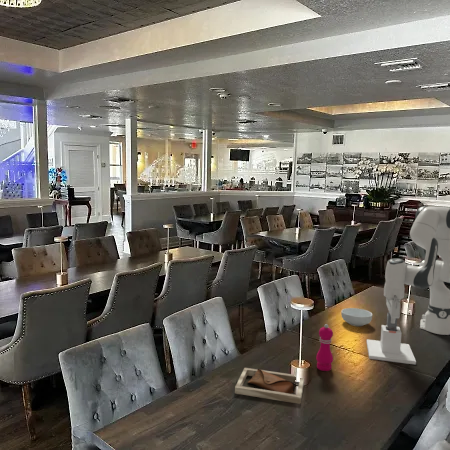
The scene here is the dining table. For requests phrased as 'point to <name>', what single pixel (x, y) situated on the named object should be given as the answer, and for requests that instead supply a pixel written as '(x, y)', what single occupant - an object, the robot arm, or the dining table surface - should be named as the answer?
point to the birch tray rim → (266, 393)
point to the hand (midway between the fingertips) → (391, 321)
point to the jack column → (389, 324)
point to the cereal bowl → (356, 316)
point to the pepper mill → (325, 349)
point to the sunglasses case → (272, 382)
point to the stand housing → (390, 347)
